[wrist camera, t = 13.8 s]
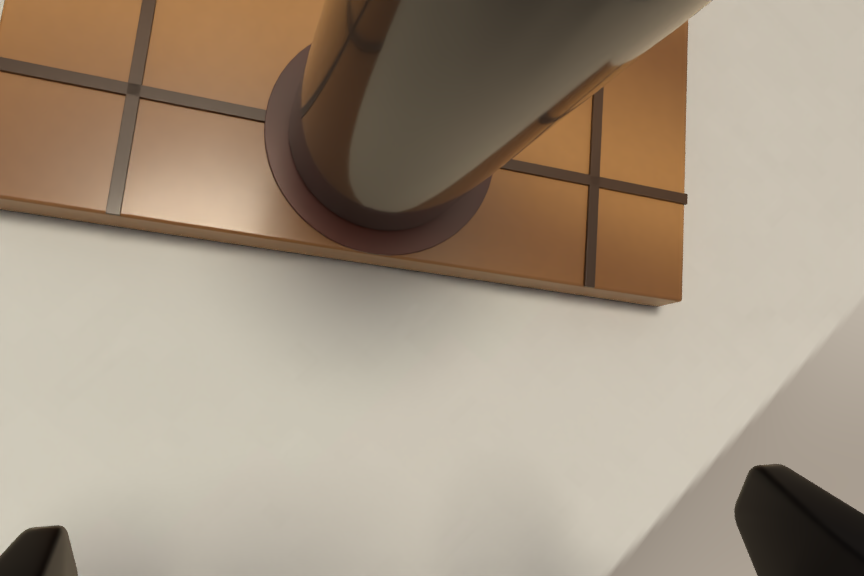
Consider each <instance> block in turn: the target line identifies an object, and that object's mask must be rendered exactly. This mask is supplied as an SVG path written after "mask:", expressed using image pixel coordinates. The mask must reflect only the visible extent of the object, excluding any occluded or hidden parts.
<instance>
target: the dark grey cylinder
mask: <svg viewBox="0 0 864 576" xmlns="http://www.w3.org/2000/svg"><path fill="white" fill-rule="evenodd" d="M711 1H713V0H325V3H324V6H323V9H322V12H321V16H320V19H319V22H318V25H317V28H316V31H315V35H314V38H313V41H312V44H311V47H310V50H309V54H308V57H307V60H306V63H305V66H304V69H303V72H302V76H301V79H300V82H299V85H298V88H297V91H296V95H295V98H294V101H293V104H292V107H291V112H290V117H289V129H288V133H289V144H290V149H291V153H292V157H293V160H294V163H295V166H296V168H297V170H298V172H299V174H300V176H301V178H302V180H303V181H304V183H305V184H306V186H307V187H308V189H309V190H310V191H311V193H312V194H313V195H314V196H315V197H316V198H317V199H318V200H319V201H320V202H321V203H322V204H323V205H324V206H325V207H326V208H328V209H329V210H330V211H332V212H333V213H335V214H336V215H338V216H339V217H341V218H343V219H345V220H347V221H349V222H351V223H353V224H356V225H359V226H362V227H365V228H370V229H374V230H383V231H400V230H406V229H412V228H415V227H418V226H421V225H424V224H426V223H428V222H430V221H432V220H434V219H435V218H437V217H438V216H440V215H441V214H443V213H444V212H445V211H447V210H448V209H449V208H450V207H452V206H453V205H454V204H456V203H457V202H458V201H459V200H461V199H462V198H463V197H464V196H466V195H467V194H468V193H469V192H471V191H472V190H473V189H475V188H476V187H477V186H478V185H480V184H481V183H482V182H483V181H485V180H486V179H487V178H488V177H490V176H491V175H492V174H494V173H495V172H496V171H497V170H499V169H500V168H501V167H502V166H504V165H505V164H506V163H507V162H509V161H510V160H511V159H513V158H514V157H515V156H516V155H518V154H519V153H520V152H521V151H523V150H524V149H525V148H526V147H528V146H529V145H530V144H532V143H533V142H534V141H535V140H537V139H538V138H539V137H540V136H542V135H543V134H544V133H545V132H547V131H548V130H549V129H551V128H552V127H553V126H554V125H556V124H557V123H558V122H559V121H561V120H562V119H563V118H564V117H566V116H567V115H568V114H570V113H571V112H572V111H573V110H575V109H576V108H577V107H578V106H580V105H581V104H582V103H583V102H585V101H586V100H587V99H589V98H590V97H591V96H592V95H594V94H595V93H596V92H597V91H599V90H600V89H601V88H602V87H604V86H605V85H606V84H607V83H609V82H610V81H611V80H613V79H614V78H615V77H616V76H618V75H619V74H620V73H621V72H623V71H624V70H625V69H626V68H628V67H629V66H630V65H632V64H633V63H634V62H635V61H637V60H638V59H639V58H640V57H642V56H643V55H644V54H645V53H647V52H648V51H649V50H651V49H652V48H653V47H654V46H656V45H657V44H658V43H659V42H661V41H662V40H663V39H664V38H666V37H667V36H668V35H670V34H671V33H672V32H673V31H675V30H676V29H677V28H678V27H680V26H681V25H682V24H683V23H685V22H686V21H687V20H689V19H690V18H691V17H692V16H694V15H695V14H696V13H697V12H699V11H700V10H701V9H702V8H704V7H705V6H706V5H708V4H709V3H710V2H711Z"/></svg>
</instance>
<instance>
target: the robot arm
mask: <svg viewBox="0 0 864 576" xmlns="http://www.w3.org/2000/svg"><path fill="white" fill-rule="evenodd" d="M735 520H736V523H737V526H738V529H739V531H740V534H741V536H742V539H743V541H744V543H745V546H746V548H747V551H748V553H749V556H750V558H751V560H752V563H753V566H754V568H755V570H756V573H757V575H758V576H864V514H862V513H861V512H859V511H857V510H856V509H854V508H853V507H851V506H849V505H848V504H846V503H844V502H843V501H841V500H840V499H838V498H836V497H835V496H833V495H831V494H830V493H828V492H827V491H825V490H823V489H822V488H820V487H818V486H817V485H815V484H814V483H812V482H810V481H809V480H807V479H806V478H804V477H802V476H801V475H799V474H797V473H796V472H794V471H793V470H791V469H789V468H788V467H785V466H783V465H780V464H770V465H759V466H754V467H753V468H752V469H751V470H750V471H749V473H748V475H747V477H746V480H745V482H744V485H743V487H742V490H741V492H740V494H739V497H738V499H737V502H736V504H735ZM0 576H78V573H77V567H76V563H75V559H74V556H73V552H72V548H71V544H70V540H69V536H68V532H67V530H66V529H65V528H64V527H63V526H59V525H57V526H45V527H34V528H29V529H27V530H25V531H24V532H22V533H21V534H20V535H19V536H18V537H17V538H16V540H15V541H14V542H13V543H12V544H11V545H10V546H9V547H8V548H7V549H6V550H5V551H4V553H3V554H2V555H1V556H0Z"/></svg>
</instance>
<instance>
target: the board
mask: <svg viewBox="0 0 864 576" xmlns="http://www.w3.org/2000/svg"><path fill="white" fill-rule="evenodd" d="M324 3H325V0H5V1H4V6H3V10H2V15H1V20H0V209H3V210H9V211H16V212H23V213H30V214H36V215H43V216H50V217H57V218H63V219H70V220H77V221H84V222H90V223H97V224H104V225H111V226H117V227H124V228H131V229H138V230H144V231H151V232H158V233H165V234H171V235H178V236H185V237H192V238H198V239H205V240H212V241H219V242H225V243H232V244H239V245H246V246H252V247H259V248H266V249H273V250H279V251H286V252H293V253H300V254H306V255H313V256H320V257H326V258H333V259H340V260H347V261H353V262H360V263H367V264H374V265H380V266H387V267H394V268H401V269H407V270H414V271H421V272H428V273H434V274H441V275H448V276H455V277H461V278H468V279H475V280H482V281H488V282H495V283H502V284H509V285H515V286H522V287H529V288H536V289H542V290H549V291H556V292H563V293H569V294H576V295H583V296H590V297H596V298H603V299H610V300H617V301H623V302H630V303H637V304H644V305H650V306H662V305H666V304H671V303H676V302H680V301H681V300H682V269H683V225H684V205H686V204H687V194H684V180H685V135H686V91H687V46H688V20H687V21H686V22H685V23H683V24H682V25H681V26H680V27H678V28H677V29H676V30H675V31H673V32H672V33H671V34H670V35H668V36H667V37H666V38H664V39H663V40H662V41H661V42H659V43H658V44H657V45H656V46H654V47H653V48H652V49H651V50H649V51H648V52H647V53H645V54H644V55H643V56H642V57H640V58H639V59H638V60H637V61H635V62H634V63H633V64H632V65H630V66H629V67H628V68H626V69H625V70H624V71H623V72H621V73H620V74H619V75H618V76H616V77H615V78H614V79H613V80H611V81H610V82H609V83H607V84H606V85H605V86H604V87H602V88H601V89H600V90H599V91H597V92H596V93H595V94H594V95H592V96H591V97H590V98H589V99H587V100H586V101H585V102H583V103H582V104H581V105H580V106H578V107H577V108H576V109H575V110H573V111H572V112H571V113H570V114H568V115H567V116H566V117H564V118H563V119H562V120H561V121H559V122H558V123H557V124H556V125H554V126H553V127H552V128H551V129H549V130H548V131H547V132H545V133H544V134H543V135H542V136H540V137H539V138H538V139H537V140H535V141H534V142H533V143H532V144H530V145H529V146H528V147H526V148H525V149H524V150H523V151H521V152H520V153H519V154H518V155H516V156H515V157H514V158H513V159H511V160H510V161H509V162H507V163H506V164H505V165H504V166H502V167H501V168H500V169H499V170H497V171H496V172H495V173H494V174H492V175H491V176H490V177H488V178H487V179H486V180H485V181H483V182H482V183H481V184H480V185H478V186H477V187H476V188H475V189H473V190H472V191H471V192H469V193H468V194H467V195H466V196H464V197H463V198H462V199H461V200H459V201H458V202H457V203H456V204H454V205H453V206H452V207H450V208H449V209H448V210H447V211H445V212H444V213H443V214H441V215H440V216H438V217H437V218H435V219H434V220H432V221H430V222H428V223H426V224H424V225H421V226H418V227H415V228H412V229H406V230H400V231H383V230H374V229H370V228H365V227H362V226H359V225H356V224H353V223H351V222H349V221H347V220H345V219H343V218H341V217H339V216H338V215H336V214H335V213H333V212H332V211H330V210H329V209H328V208H326V207H325V206H324V205H323V204H322V203H321V202H320V201H319V200H318V199H317V198H316V197H315V196H314V195H313V194H312V193H311V191H310V190H309V189H308V187H307V186H306V184H305V183H304V181H303V180H302V178H301V176H300V174H299V172H298V170H297V168H296V166H295V163H294V160H293V157H292V153H291V149H290V144H289V133H288V129H289V117H290V112H291V107H292V104H293V101H294V98H295V95H296V91H297V88H298V85H299V82H300V79H301V76H302V72H303V69H304V66H305V63H306V60H307V57H308V54H309V50H310V47H311V44H312V41H313V38H314V35H315V31H316V28H317V25H318V22H319V19H320V16H321V12H322V9H323V6H324Z"/></svg>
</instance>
